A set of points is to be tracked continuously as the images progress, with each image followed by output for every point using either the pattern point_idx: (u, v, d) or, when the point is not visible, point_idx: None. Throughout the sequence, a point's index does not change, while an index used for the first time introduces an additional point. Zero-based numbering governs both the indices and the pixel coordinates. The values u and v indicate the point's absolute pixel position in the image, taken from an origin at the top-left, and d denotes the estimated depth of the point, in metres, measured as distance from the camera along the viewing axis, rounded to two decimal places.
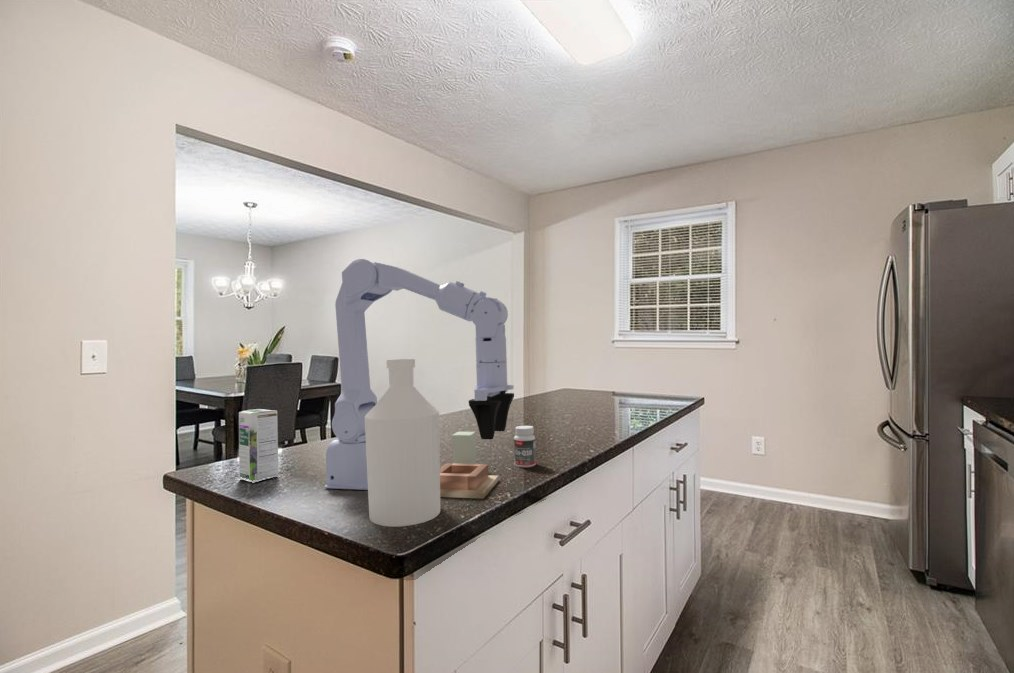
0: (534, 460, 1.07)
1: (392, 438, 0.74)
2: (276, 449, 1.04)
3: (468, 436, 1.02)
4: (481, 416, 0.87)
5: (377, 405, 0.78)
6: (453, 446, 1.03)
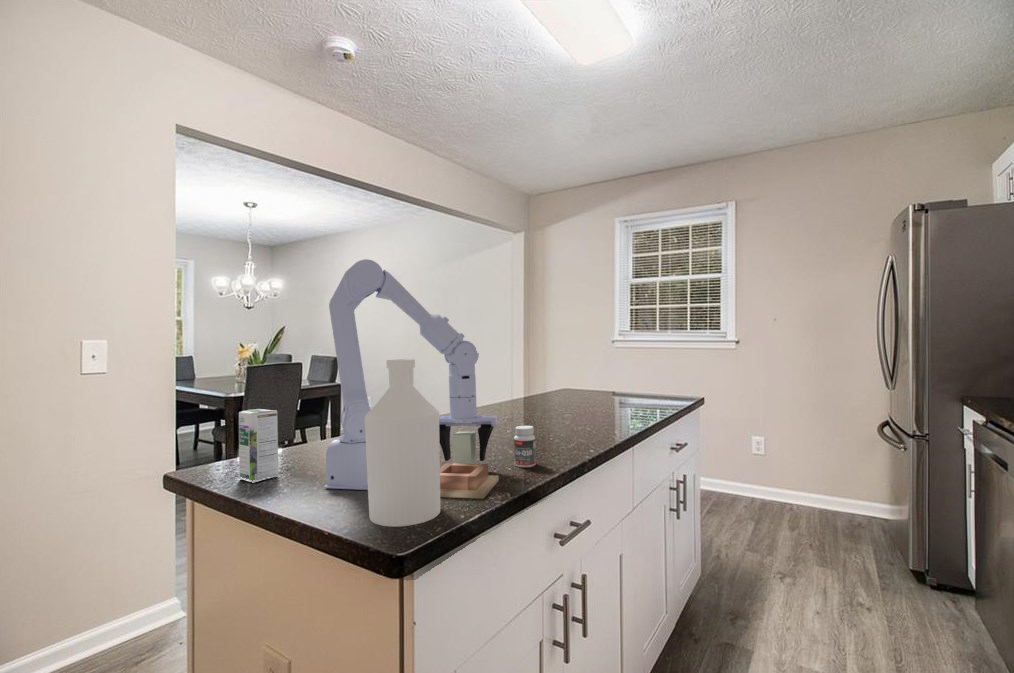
0: (534, 460, 1.07)
1: (392, 438, 0.74)
2: (276, 449, 1.04)
3: (468, 436, 1.02)
4: None
5: (377, 405, 0.78)
6: (453, 446, 1.03)
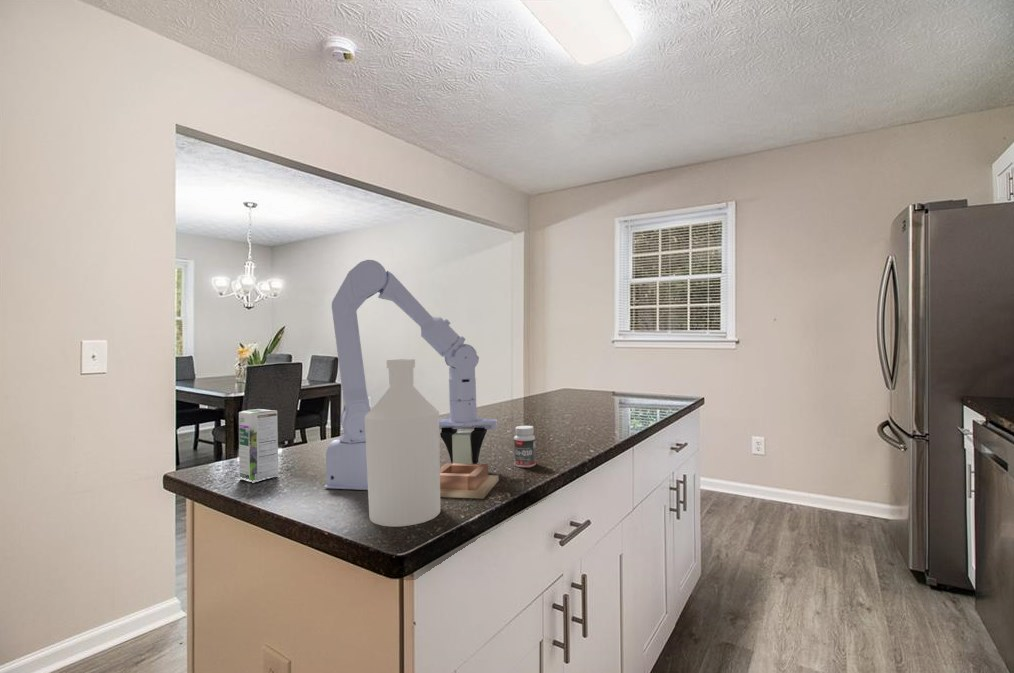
0: (534, 460, 1.07)
1: (392, 438, 0.74)
2: (276, 449, 1.04)
3: (468, 436, 1.02)
4: None
5: (377, 405, 0.78)
6: (453, 446, 1.03)
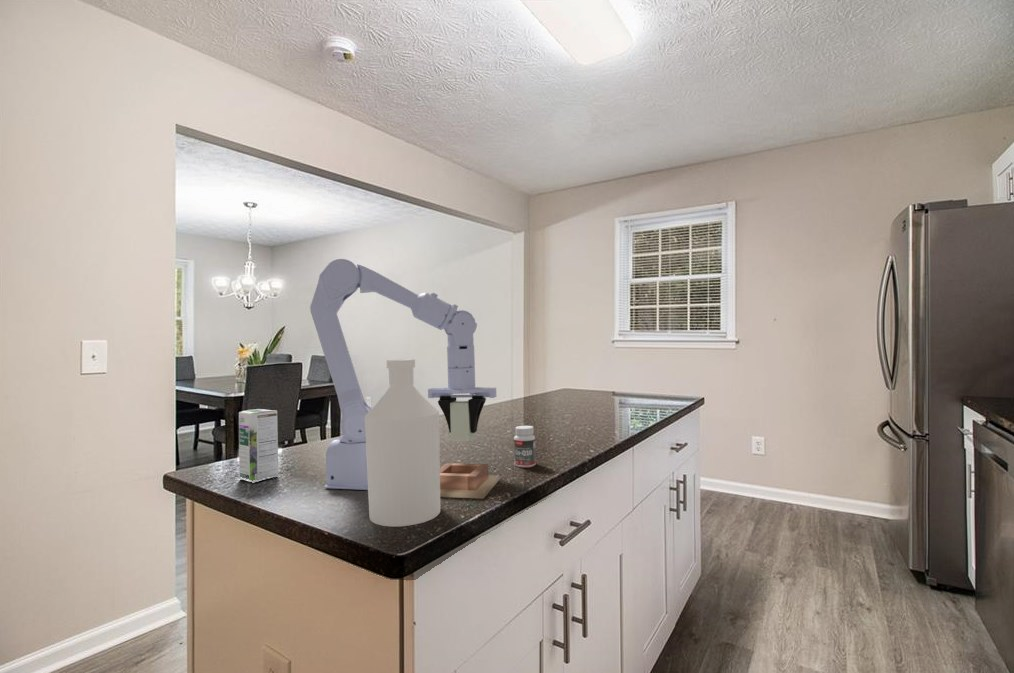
0: (534, 460, 1.07)
1: (392, 438, 0.74)
2: (276, 449, 1.04)
3: (466, 404, 1.01)
4: None
5: (377, 405, 0.78)
6: (451, 414, 1.02)
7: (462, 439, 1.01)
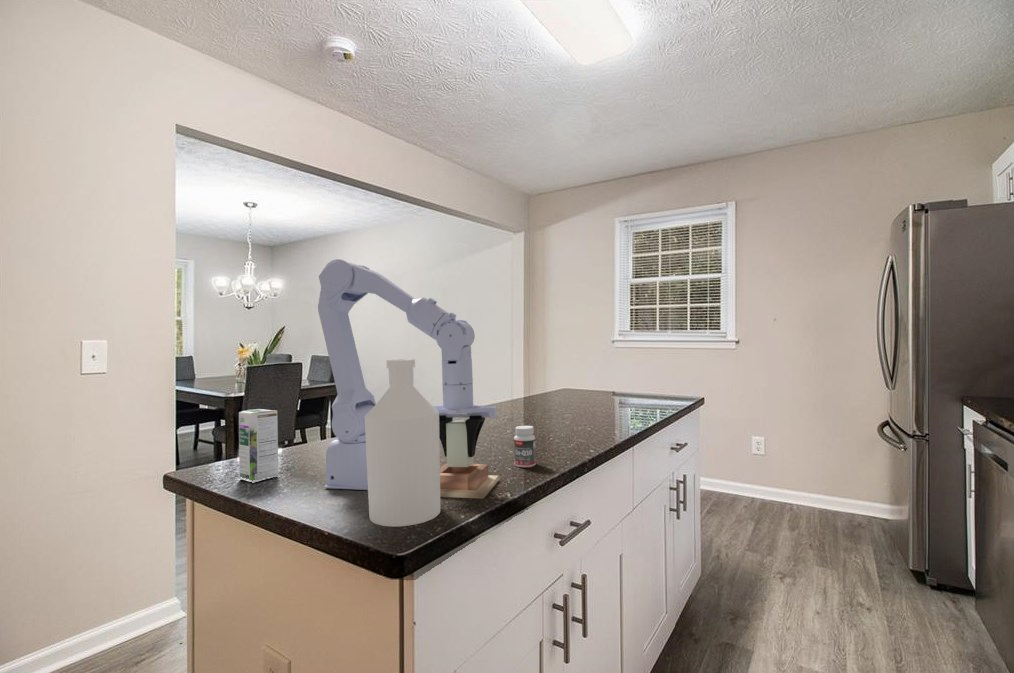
0: (534, 460, 1.07)
1: (392, 438, 0.74)
2: (276, 449, 1.04)
3: (464, 425, 0.91)
4: None
5: (377, 405, 0.78)
6: (447, 436, 0.91)
7: (459, 464, 0.91)
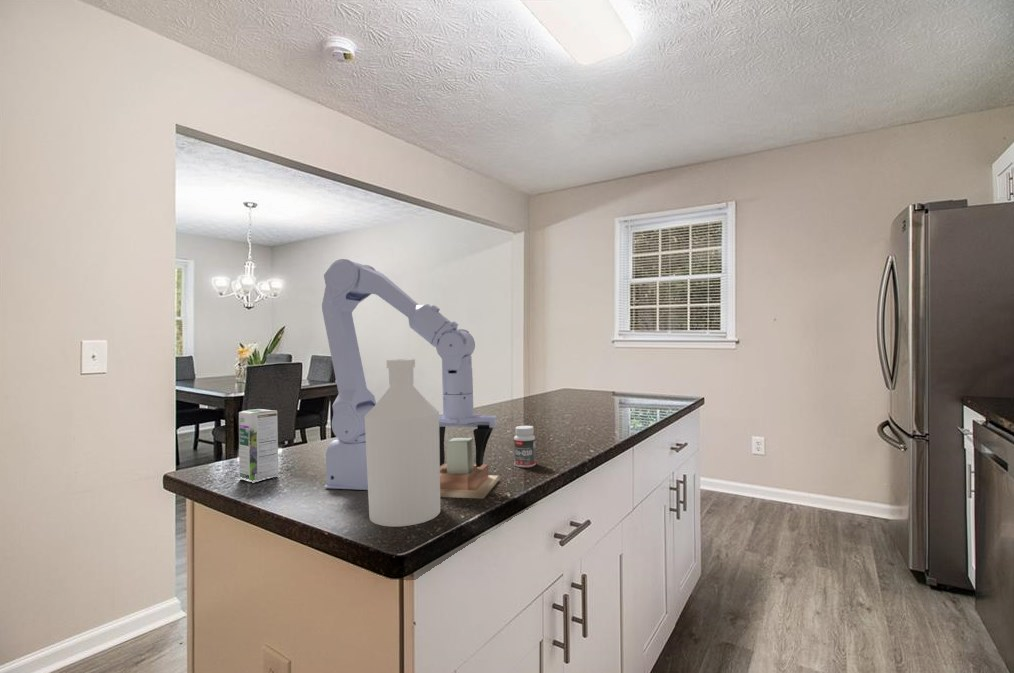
0: (534, 460, 1.07)
1: (392, 438, 0.74)
2: (276, 449, 1.04)
3: (465, 443, 0.90)
4: None
5: (377, 405, 0.77)
6: (448, 455, 0.91)
7: None
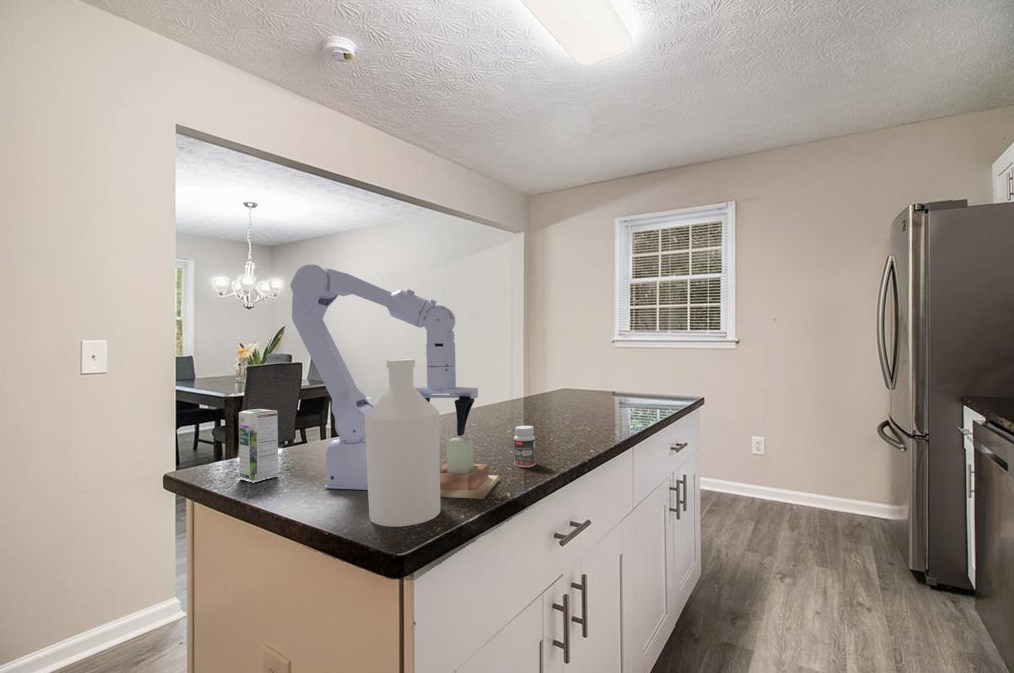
0: (534, 460, 1.07)
1: (392, 438, 0.74)
2: (276, 449, 1.04)
3: (465, 443, 0.90)
4: None
5: (377, 405, 0.77)
6: (448, 455, 0.91)
7: None
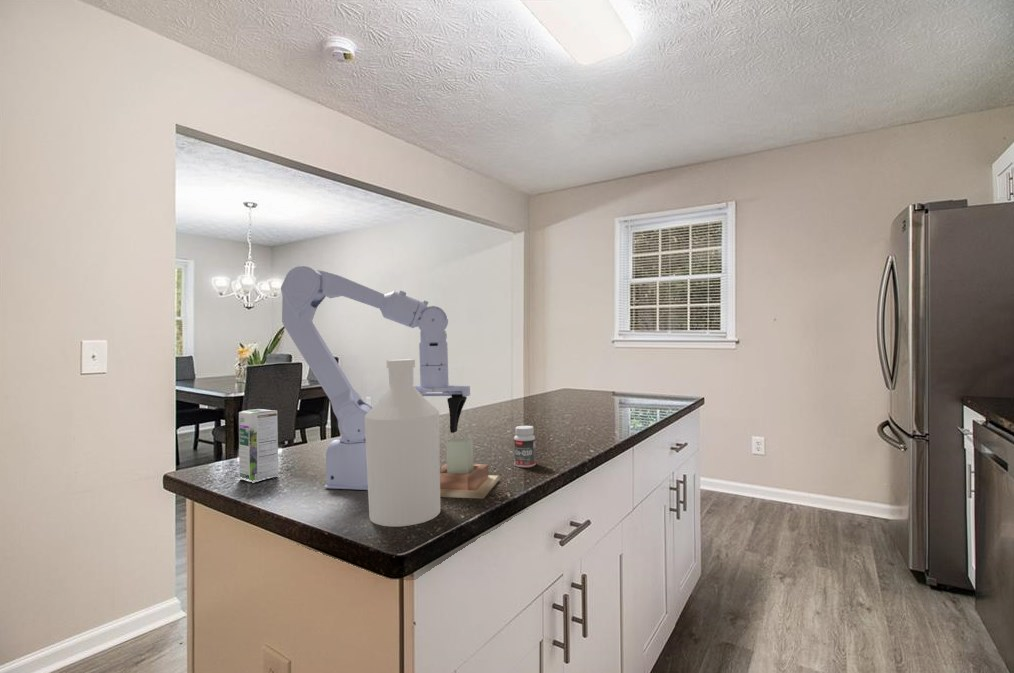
0: (534, 460, 1.07)
1: (392, 438, 0.74)
2: (276, 449, 1.04)
3: (465, 443, 0.90)
4: None
5: (377, 405, 0.77)
6: (448, 455, 0.91)
7: None
